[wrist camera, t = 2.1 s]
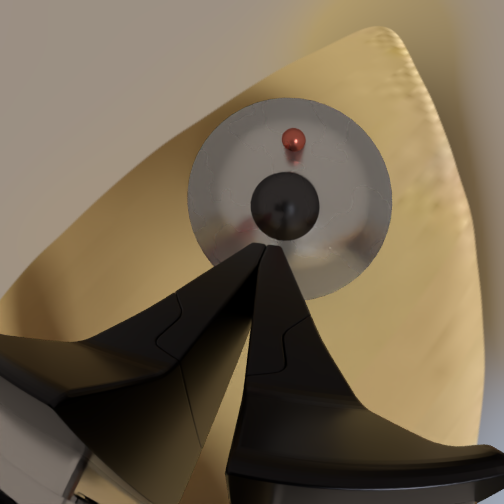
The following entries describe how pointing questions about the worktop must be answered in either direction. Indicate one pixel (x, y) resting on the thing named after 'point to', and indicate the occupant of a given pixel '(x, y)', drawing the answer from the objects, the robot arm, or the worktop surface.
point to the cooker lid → (292, 191)
